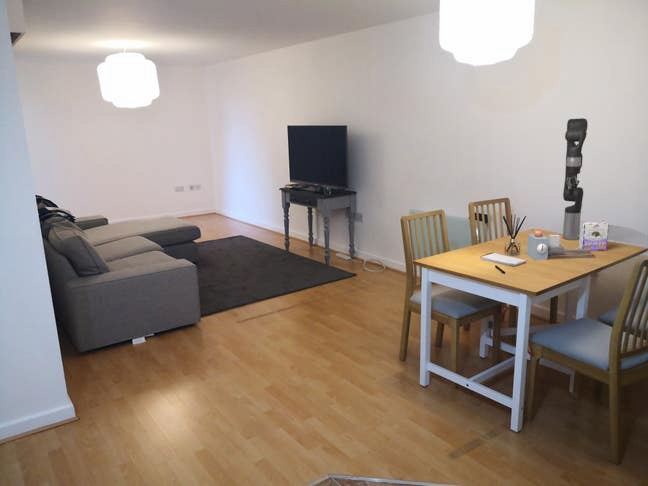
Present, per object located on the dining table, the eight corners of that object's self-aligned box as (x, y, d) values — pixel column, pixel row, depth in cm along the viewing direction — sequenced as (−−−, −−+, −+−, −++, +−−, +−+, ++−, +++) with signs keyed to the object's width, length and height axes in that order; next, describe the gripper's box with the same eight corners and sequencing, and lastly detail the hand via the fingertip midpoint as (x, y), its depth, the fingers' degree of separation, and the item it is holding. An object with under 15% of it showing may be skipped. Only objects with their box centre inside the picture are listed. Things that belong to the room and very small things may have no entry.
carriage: (543, 248, 286) (544, 233, 284) (557, 247, 286) (558, 233, 284) (549, 251, 278) (550, 237, 276) (563, 251, 278) (564, 236, 276)
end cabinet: (526, 254, 289) (527, 234, 286) (538, 253, 289) (540, 233, 286) (535, 260, 277) (536, 239, 274) (547, 259, 277) (549, 238, 274)
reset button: (533, 235, 282) (533, 230, 282) (540, 235, 282) (540, 229, 282) (536, 236, 279) (536, 231, 278) (543, 236, 278) (543, 231, 278)
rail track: (540, 254, 288) (540, 248, 287) (586, 252, 287) (586, 247, 287) (547, 259, 278) (548, 253, 278) (594, 257, 278) (595, 251, 277)
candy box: (602, 248, 296) (605, 221, 292) (606, 250, 290) (609, 223, 286) (578, 248, 298) (580, 221, 294) (581, 251, 292) (584, 223, 288)
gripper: (561, 164, 287) (559, 194, 291) (571, 166, 274) (569, 197, 278) (574, 163, 287) (572, 193, 291) (585, 165, 274) (583, 197, 278)
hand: (570, 195), depth 285 cm, fingers closed
